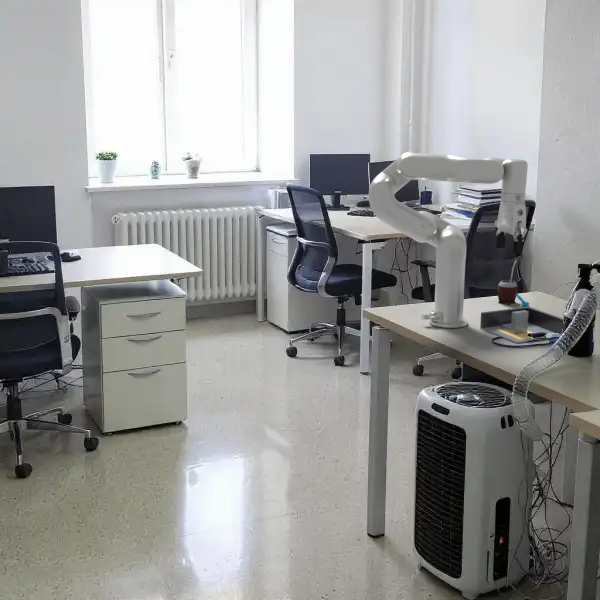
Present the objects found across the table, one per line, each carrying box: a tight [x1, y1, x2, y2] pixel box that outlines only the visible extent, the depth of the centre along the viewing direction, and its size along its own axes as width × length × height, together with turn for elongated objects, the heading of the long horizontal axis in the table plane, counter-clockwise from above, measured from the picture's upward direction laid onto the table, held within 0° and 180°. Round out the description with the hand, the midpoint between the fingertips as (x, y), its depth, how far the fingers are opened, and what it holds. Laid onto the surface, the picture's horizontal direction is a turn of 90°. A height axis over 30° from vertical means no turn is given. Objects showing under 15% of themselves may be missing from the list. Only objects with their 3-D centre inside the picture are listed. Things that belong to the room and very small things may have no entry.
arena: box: [479, 306, 565, 344], centre depth 293 cm, size 19×19×6 cm
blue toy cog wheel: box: [516, 293, 531, 308], centre depth 315 cm, size 11×6×10 cm
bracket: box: [501, 310, 528, 335], centre depth 292 cm, size 7×5×7 cm
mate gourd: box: [497, 260, 519, 306], centre depth 331 cm, size 8×8×15 cm
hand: (508, 250), depth 296 cm, fingers open, 9 cm apart
